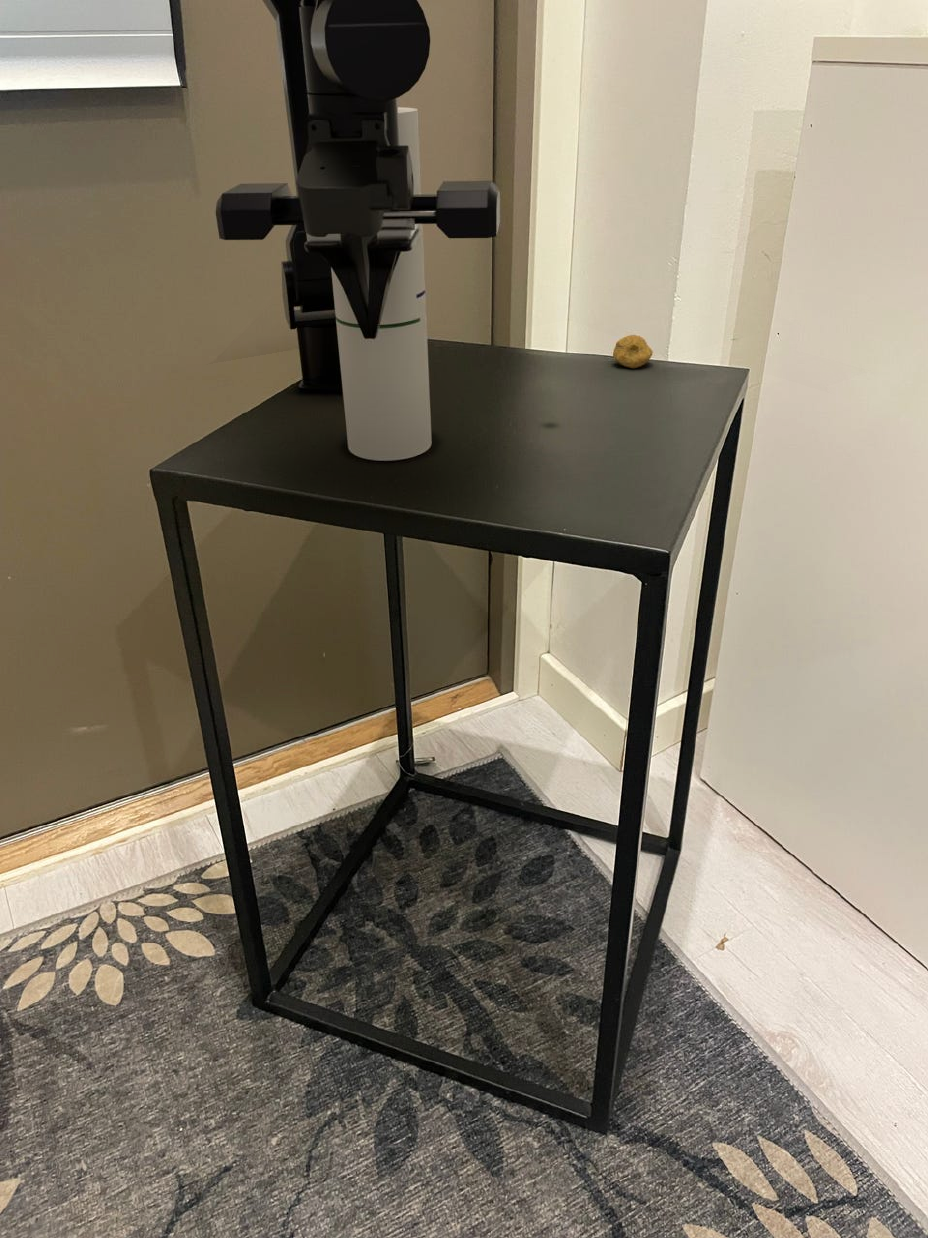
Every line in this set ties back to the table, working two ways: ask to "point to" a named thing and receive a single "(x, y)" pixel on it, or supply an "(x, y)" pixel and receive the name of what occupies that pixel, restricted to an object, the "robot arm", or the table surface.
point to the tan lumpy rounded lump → (632, 351)
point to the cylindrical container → (389, 350)
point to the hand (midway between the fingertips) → (370, 337)
